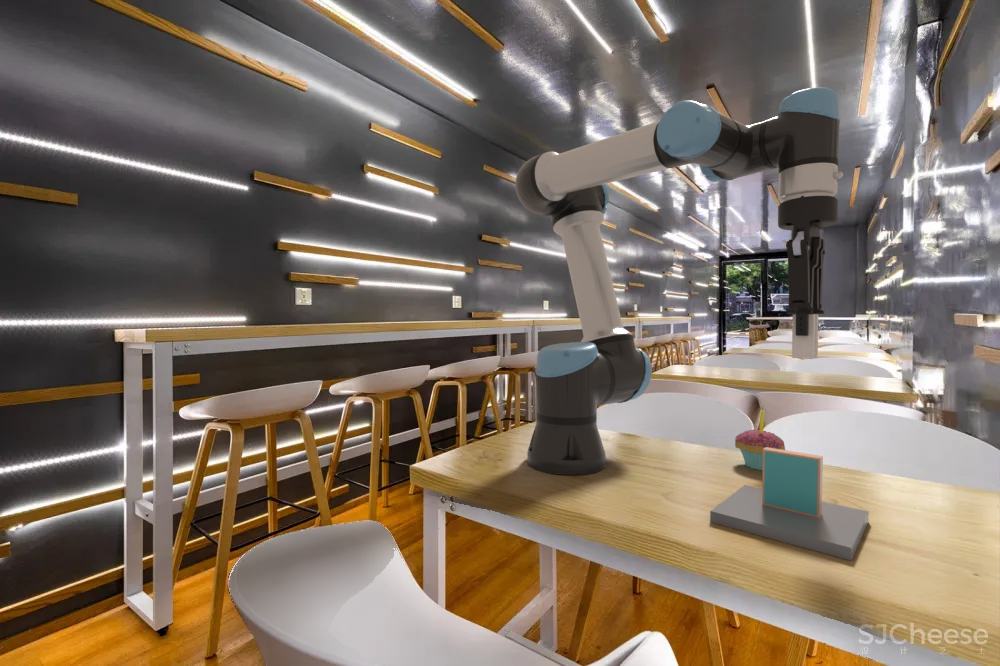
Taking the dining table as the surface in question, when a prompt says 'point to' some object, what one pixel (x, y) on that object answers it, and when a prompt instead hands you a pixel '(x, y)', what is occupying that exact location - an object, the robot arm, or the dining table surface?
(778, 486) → the tile
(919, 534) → the dining table surface
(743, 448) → the cupcake
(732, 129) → the robot arm
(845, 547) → the board
